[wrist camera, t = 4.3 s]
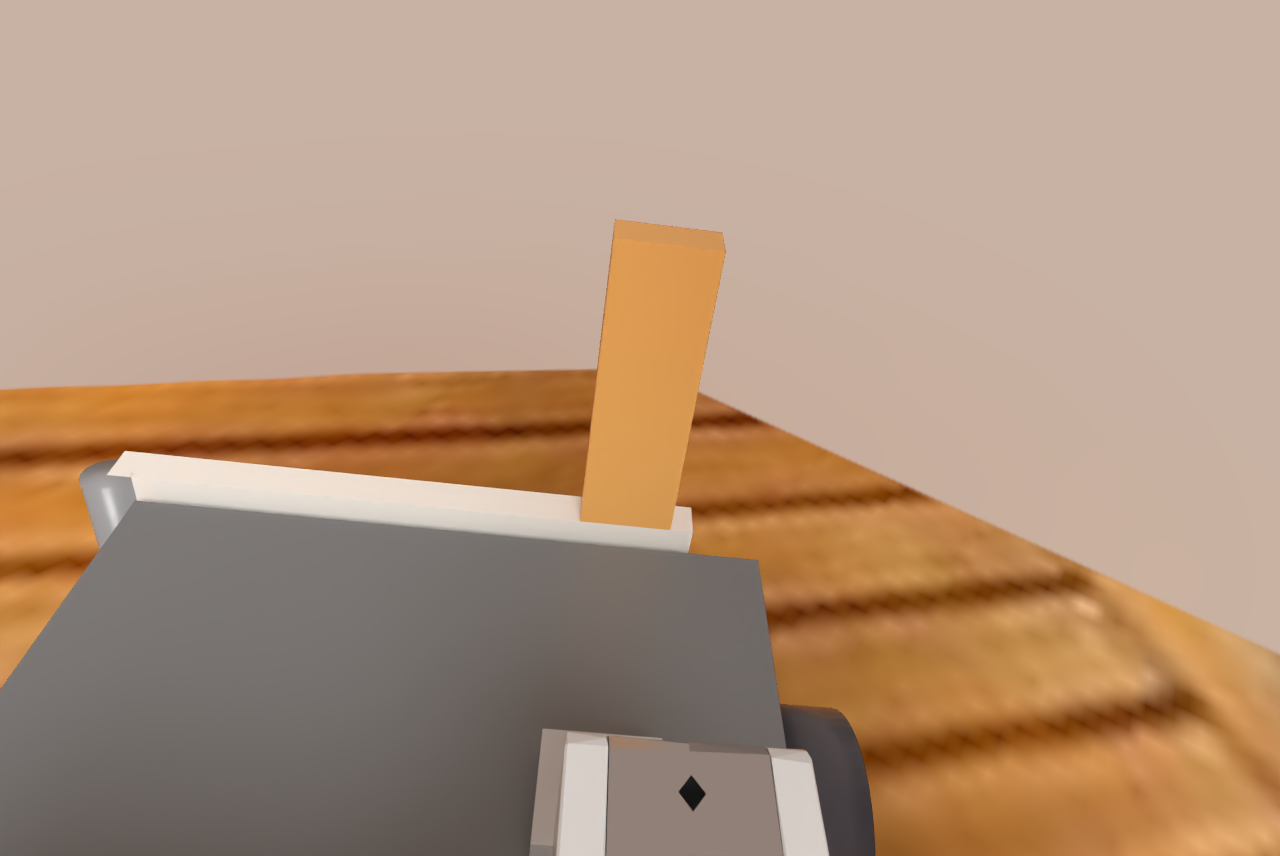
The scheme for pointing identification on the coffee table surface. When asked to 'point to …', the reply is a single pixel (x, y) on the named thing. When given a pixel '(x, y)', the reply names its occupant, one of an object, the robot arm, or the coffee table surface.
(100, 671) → the gray box camera
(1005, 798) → the coffee table surface
